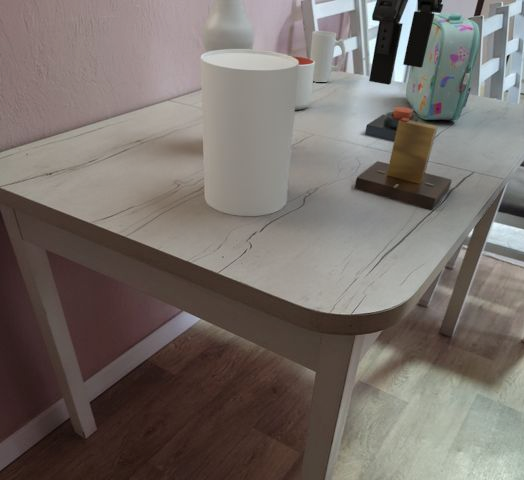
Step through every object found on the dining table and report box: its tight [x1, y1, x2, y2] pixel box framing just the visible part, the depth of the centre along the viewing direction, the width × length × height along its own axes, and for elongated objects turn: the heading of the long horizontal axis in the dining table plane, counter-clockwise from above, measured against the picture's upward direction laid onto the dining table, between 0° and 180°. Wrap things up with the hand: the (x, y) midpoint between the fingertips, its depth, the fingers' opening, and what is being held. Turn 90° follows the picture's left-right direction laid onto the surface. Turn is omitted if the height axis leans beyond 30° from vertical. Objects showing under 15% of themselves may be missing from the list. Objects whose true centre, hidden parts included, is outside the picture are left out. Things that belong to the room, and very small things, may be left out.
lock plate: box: [354, 160, 453, 211], centre depth 85 cm, size 14×10×2 cm
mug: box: [309, 30, 346, 83], centre depth 140 cm, size 10×7×12 cm, turn 77°
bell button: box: [393, 106, 414, 119], centre depth 106 cm, size 4×4×2 cm
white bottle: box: [202, 0, 255, 53], centre depth 89 cm, size 9×9×28 cm
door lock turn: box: [387, 118, 438, 184], centre depth 82 cm, size 6×2×9 cm, turn 58°
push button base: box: [364, 111, 420, 142], centre depth 108 cm, size 12×10×4 cm
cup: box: [290, 55, 315, 111], centre depth 120 cm, size 10×10×10 cm
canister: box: [200, 49, 299, 217], centre depth 74 cm, size 14×14×20 cm
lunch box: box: [405, 12, 481, 122], centre depth 118 cm, size 27×10×21 cm, turn 179°
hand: (397, 73), depth 68 cm, fingers open, 13 cm apart
